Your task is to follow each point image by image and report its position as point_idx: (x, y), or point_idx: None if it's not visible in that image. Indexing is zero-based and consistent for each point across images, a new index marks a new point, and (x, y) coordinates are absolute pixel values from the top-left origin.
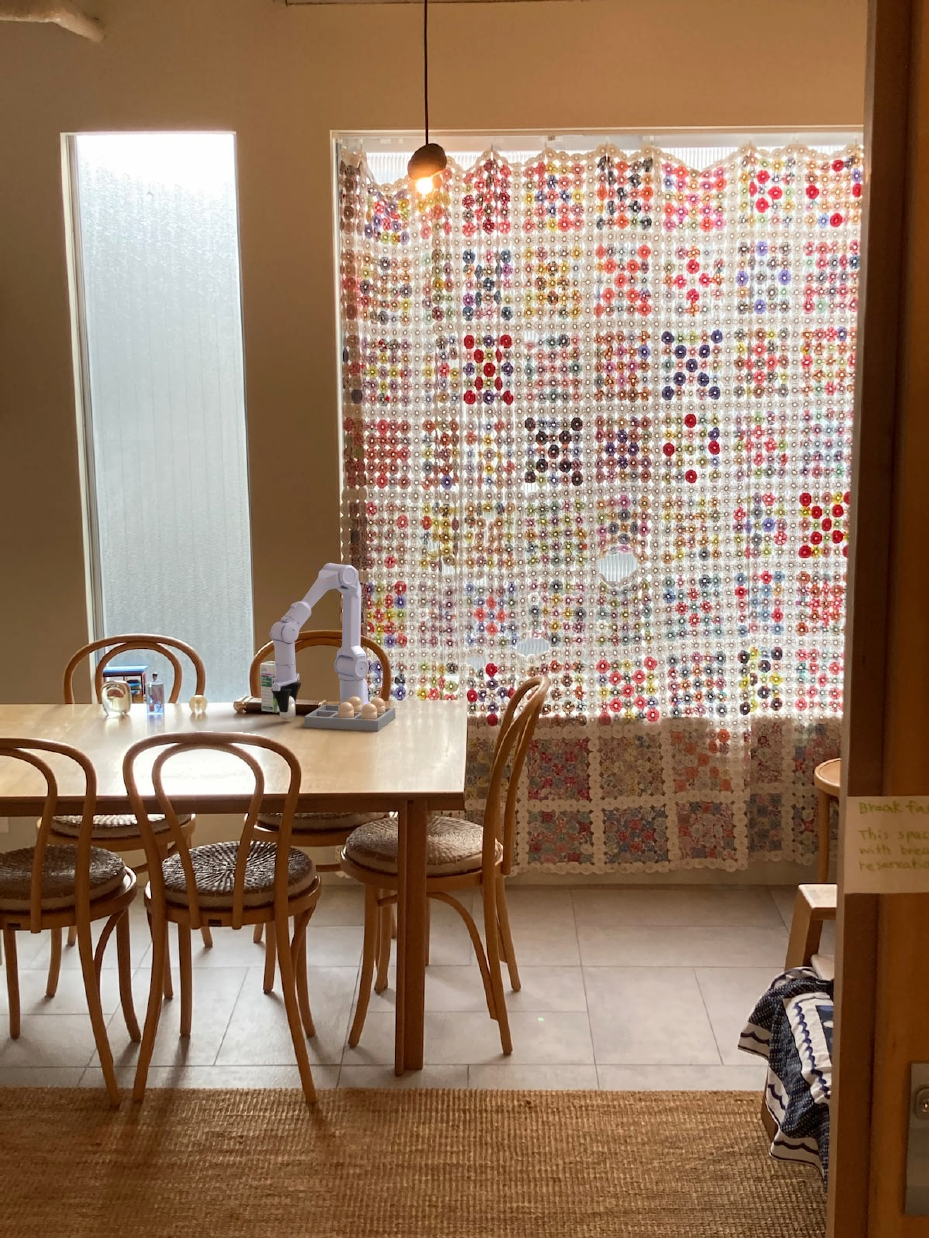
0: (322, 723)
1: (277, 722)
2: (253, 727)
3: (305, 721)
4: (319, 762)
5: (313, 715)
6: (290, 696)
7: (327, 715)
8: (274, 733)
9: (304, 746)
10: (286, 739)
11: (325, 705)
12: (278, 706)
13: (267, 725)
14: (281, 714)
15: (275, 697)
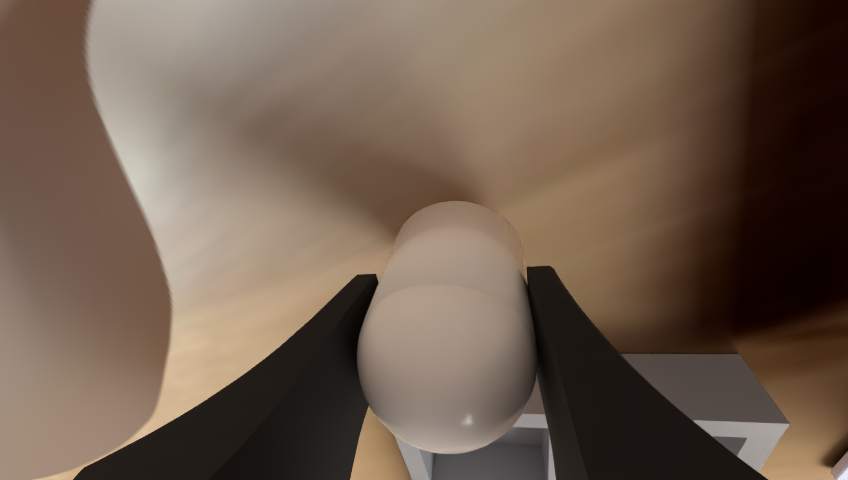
0: None
1: (424, 164)
2: (201, 59)
3: None
4: None
5: None
6: (452, 453)
7: (544, 440)
8: (209, 274)
9: None
10: (185, 355)
11: (739, 434)
12: (326, 304)
13: (313, 138)
14: (389, 255)
15: (222, 393)
